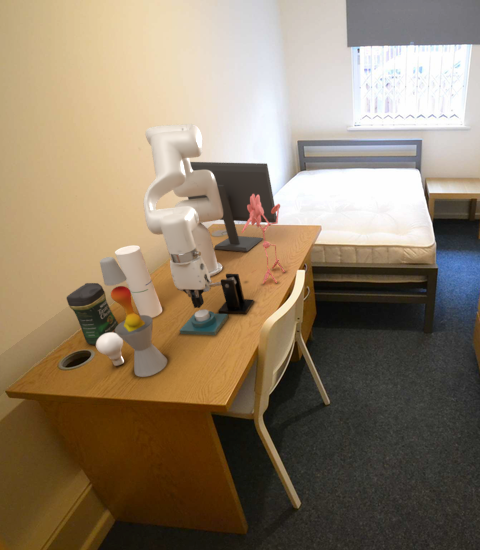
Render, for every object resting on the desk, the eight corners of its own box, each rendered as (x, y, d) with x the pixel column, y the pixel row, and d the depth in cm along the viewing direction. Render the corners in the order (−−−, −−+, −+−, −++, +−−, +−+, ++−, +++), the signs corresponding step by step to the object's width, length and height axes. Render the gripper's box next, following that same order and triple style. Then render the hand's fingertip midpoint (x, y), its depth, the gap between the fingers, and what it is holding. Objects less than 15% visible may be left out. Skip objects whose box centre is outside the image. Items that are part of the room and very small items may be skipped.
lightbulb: (114, 357, 110) (100, 328, 105) (135, 356, 110) (122, 327, 105) (102, 372, 105) (87, 342, 99) (125, 371, 105) (111, 341, 100)
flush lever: (200, 294, 126) (197, 288, 125) (210, 284, 133) (207, 278, 131) (231, 289, 124) (228, 283, 123) (239, 279, 130) (236, 273, 129)
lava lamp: (128, 367, 106) (80, 260, 89) (160, 351, 112) (120, 248, 95) (140, 382, 101) (90, 271, 84) (173, 364, 107) (133, 257, 90)
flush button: (193, 321, 120) (191, 316, 119) (200, 314, 124) (198, 309, 123) (206, 322, 120) (204, 317, 119) (212, 314, 123) (211, 309, 122)
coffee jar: (107, 346, 115) (83, 296, 106) (83, 346, 115) (57, 297, 106) (125, 327, 123) (105, 280, 114) (103, 327, 124) (80, 280, 115)
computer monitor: (286, 241, 184) (274, 159, 165) (272, 254, 170) (257, 168, 151) (210, 235, 193) (190, 158, 174) (191, 248, 180) (167, 165, 160)
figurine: (293, 263, 162) (282, 185, 145) (271, 293, 140) (255, 206, 123) (260, 261, 164) (245, 184, 147) (234, 291, 142) (213, 205, 125)
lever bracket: (218, 313, 129) (210, 282, 123) (228, 301, 136) (221, 271, 130) (245, 314, 128) (238, 283, 122) (254, 302, 135) (247, 272, 129)
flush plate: (180, 334, 119) (177, 325, 118) (196, 316, 128) (193, 308, 126) (215, 335, 118) (212, 326, 117) (228, 317, 127) (226, 309, 125)
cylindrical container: (166, 309, 133) (144, 246, 121) (150, 320, 127) (126, 255, 115) (151, 305, 135) (128, 244, 123) (135, 316, 129) (109, 253, 117)
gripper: (213, 250, 113) (226, 300, 121) (168, 249, 114) (183, 299, 123) (201, 260, 106) (215, 312, 115) (153, 260, 108) (171, 311, 116)
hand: (199, 305), depth 119 cm, fingers closed
